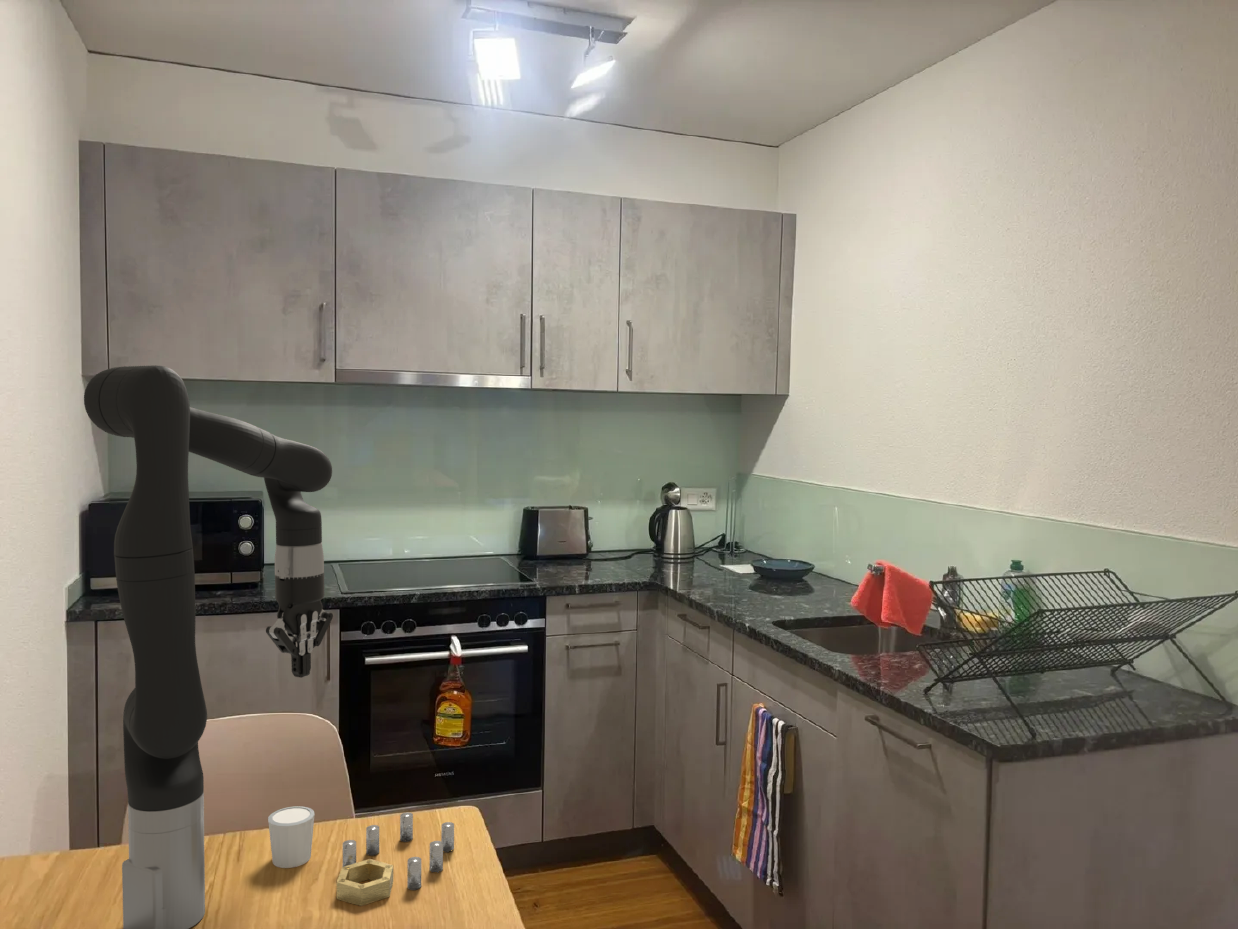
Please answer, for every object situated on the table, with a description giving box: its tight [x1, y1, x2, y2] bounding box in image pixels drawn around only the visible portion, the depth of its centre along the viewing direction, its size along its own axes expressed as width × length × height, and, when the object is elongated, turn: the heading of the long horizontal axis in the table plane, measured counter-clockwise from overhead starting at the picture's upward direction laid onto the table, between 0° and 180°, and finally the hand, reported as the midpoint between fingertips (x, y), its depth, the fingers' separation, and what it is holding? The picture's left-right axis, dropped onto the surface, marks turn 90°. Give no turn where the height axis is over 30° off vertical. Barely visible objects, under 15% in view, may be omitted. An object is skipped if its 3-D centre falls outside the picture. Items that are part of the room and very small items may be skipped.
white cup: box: [267, 805, 315, 869], centre depth 142 cm, size 7×7×7 cm
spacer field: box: [342, 811, 455, 891], centre depth 142 cm, size 14×14×4 cm
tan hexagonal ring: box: [336, 858, 394, 907], centre depth 133 cm, size 7×9×2 cm
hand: (301, 675), depth 149 cm, fingers closed
